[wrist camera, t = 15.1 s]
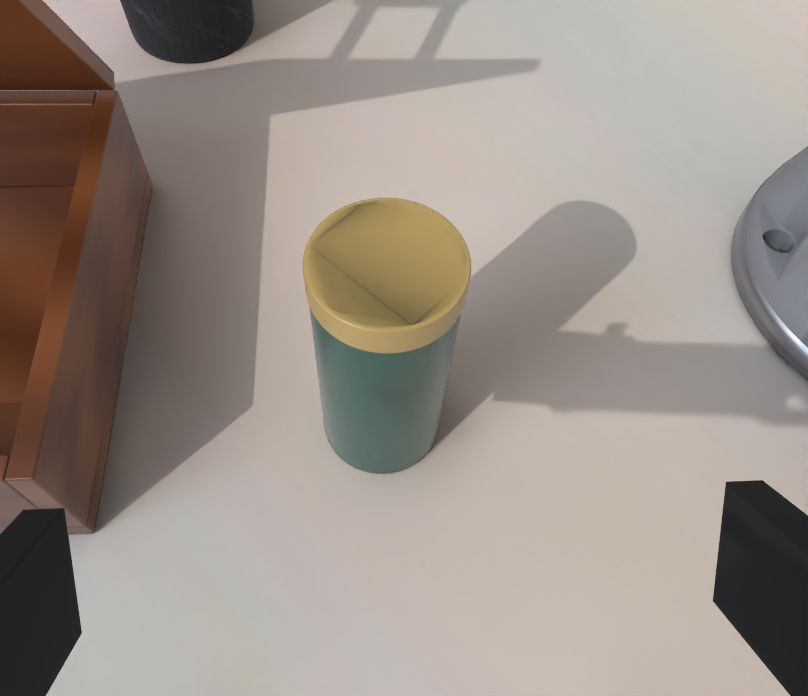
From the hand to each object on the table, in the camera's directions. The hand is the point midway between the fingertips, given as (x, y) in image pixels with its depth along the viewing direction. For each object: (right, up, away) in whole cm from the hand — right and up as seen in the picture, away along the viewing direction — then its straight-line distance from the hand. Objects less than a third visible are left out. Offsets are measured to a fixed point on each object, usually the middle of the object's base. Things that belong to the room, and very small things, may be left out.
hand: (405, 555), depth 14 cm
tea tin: (-1, +1, +16) cm, 16 cm away
